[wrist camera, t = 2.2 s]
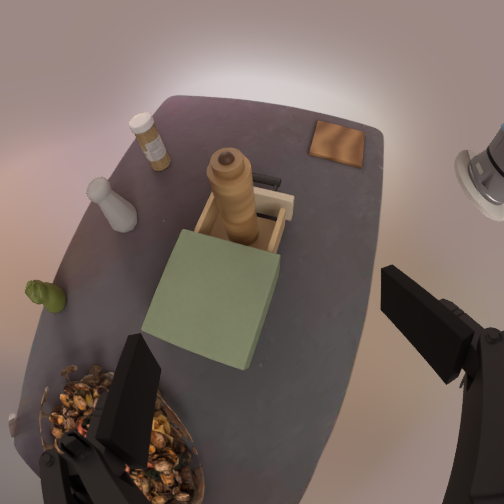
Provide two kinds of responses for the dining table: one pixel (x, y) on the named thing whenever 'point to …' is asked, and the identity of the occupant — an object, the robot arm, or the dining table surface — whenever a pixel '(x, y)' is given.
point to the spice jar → (150, 140)
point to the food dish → (161, 444)
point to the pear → (46, 295)
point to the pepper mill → (234, 194)
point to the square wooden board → (338, 144)
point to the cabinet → (214, 298)
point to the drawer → (265, 204)
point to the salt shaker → (112, 205)
